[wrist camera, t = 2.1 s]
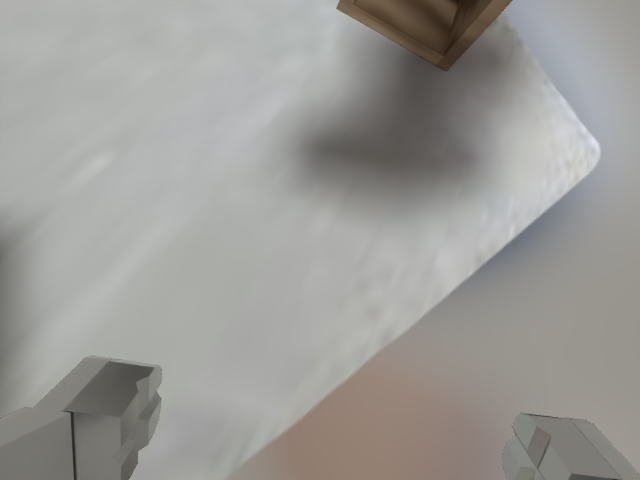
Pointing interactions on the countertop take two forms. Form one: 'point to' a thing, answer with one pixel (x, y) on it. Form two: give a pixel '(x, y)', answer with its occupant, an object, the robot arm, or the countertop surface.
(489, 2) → the wooden shelf
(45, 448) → the robot arm
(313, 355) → the countertop surface
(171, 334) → the countertop surface
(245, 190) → the countertop surface
